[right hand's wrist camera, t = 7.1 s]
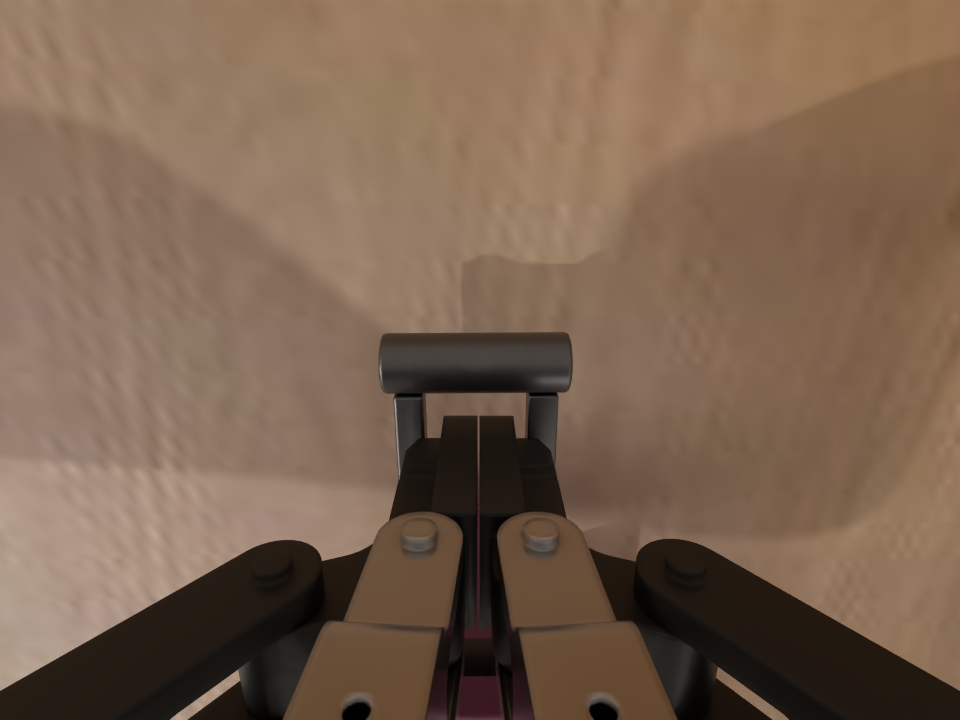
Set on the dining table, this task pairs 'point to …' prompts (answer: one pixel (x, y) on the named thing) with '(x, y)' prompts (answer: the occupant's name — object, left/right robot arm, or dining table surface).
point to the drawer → (475, 369)
